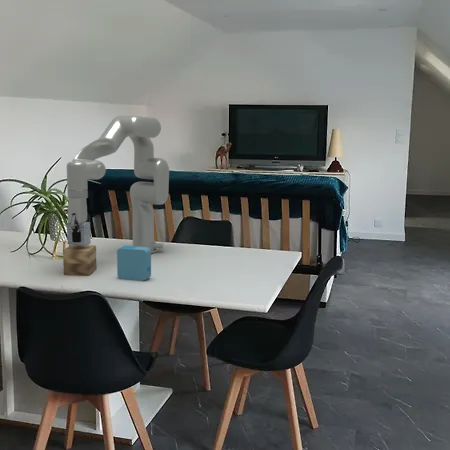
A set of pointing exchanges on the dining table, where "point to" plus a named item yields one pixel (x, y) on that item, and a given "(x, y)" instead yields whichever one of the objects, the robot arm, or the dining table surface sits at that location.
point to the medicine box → (84, 234)
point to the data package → (134, 262)
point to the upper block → (79, 254)
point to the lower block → (80, 268)
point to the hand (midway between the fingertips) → (79, 239)
